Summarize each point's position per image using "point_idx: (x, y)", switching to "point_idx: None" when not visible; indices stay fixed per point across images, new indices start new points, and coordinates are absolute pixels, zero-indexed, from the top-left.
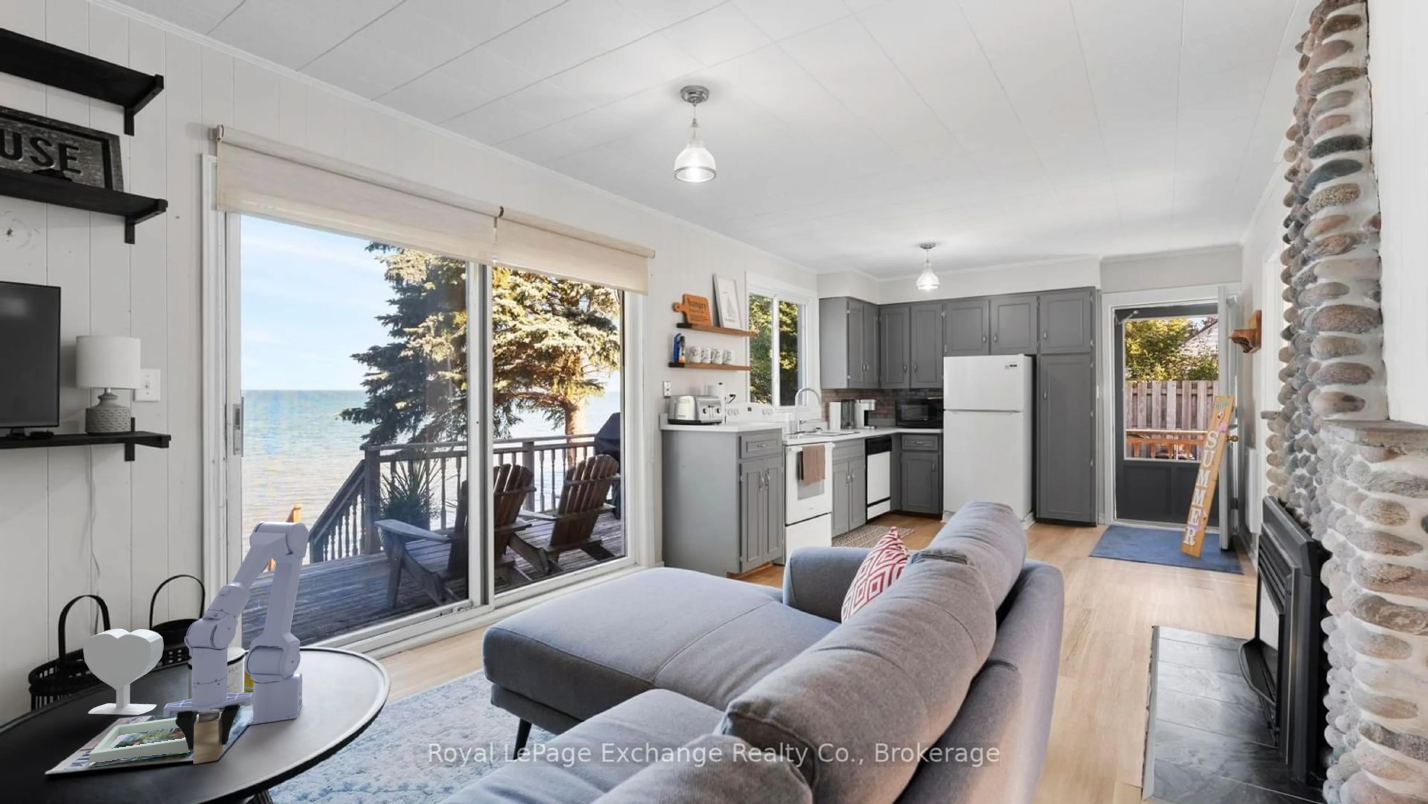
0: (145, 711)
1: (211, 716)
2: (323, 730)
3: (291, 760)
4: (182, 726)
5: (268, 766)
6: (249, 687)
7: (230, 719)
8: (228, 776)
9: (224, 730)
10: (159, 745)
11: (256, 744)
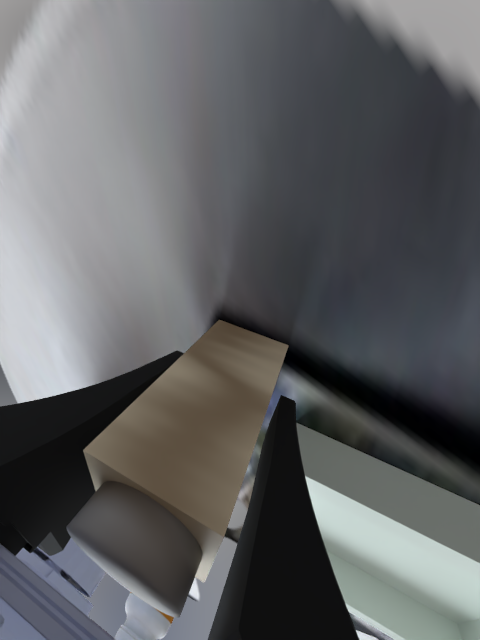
0: (361, 633)
1: (97, 519)
2: (27, 310)
3: (20, 162)
4: (311, 574)
5: (65, 153)
6: None
7: (24, 407)
8: (169, 138)
9: (127, 383)
10: (391, 510)
11: (138, 343)
